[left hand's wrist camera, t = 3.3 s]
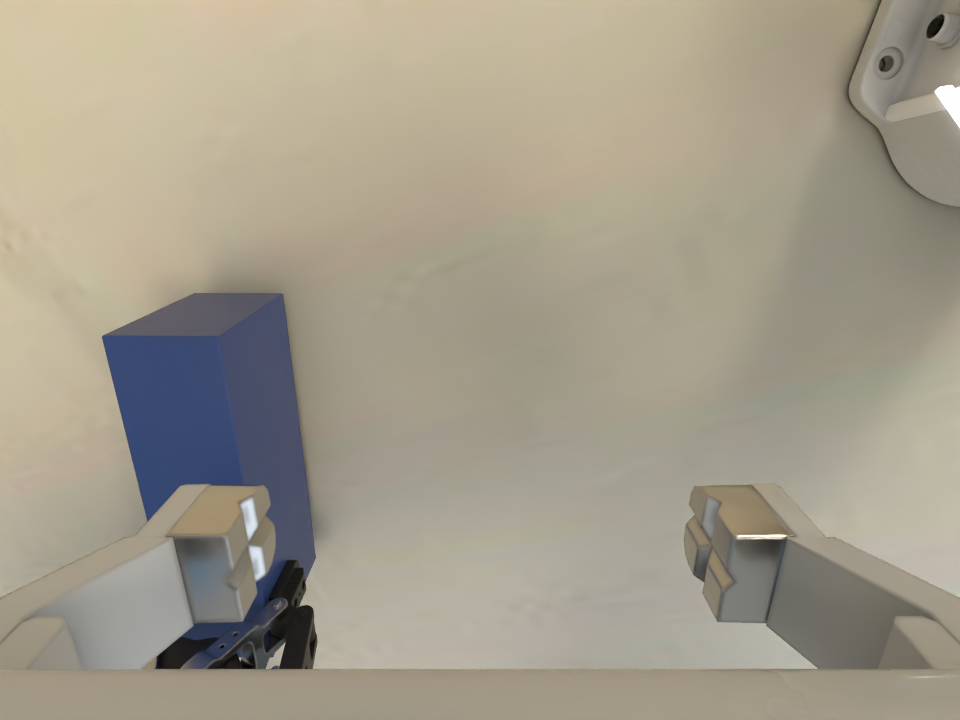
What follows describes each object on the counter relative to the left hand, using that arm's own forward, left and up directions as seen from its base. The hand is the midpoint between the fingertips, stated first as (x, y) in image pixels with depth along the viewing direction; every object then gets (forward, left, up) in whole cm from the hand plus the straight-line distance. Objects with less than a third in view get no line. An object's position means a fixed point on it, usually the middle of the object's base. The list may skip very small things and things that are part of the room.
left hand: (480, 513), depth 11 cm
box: (+13, -16, -27) cm, 34 cm away
